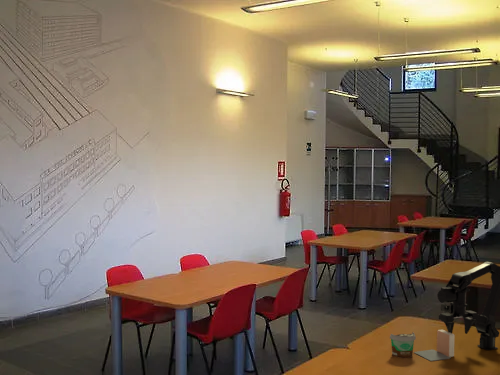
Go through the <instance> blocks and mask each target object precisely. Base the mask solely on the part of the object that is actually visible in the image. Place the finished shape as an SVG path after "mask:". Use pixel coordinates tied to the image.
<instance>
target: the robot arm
mask: <svg viewBox="0 0 500 375" xmlns="http://www.w3.org/2000/svg"><path fill="white" fill-rule="evenodd" d="M486 274H491V275H490V279H491V287H490V289H489V293H488V295H487V299H486V302H485V305H484V308H483V311H482V312H481V313H480V314H479V313H478V312H476V311H473V310H466V307H468V305H469V304H467V303H466V302H467V293H468V292H470V291H471V290H470V289H469V288H468V287H469V286H470V285H471V284H472V283H473V281H474V280H477V279H478V278H480V277H483V276H485V275H486ZM436 296H437V300H438V301H439V303H441V304H440V313H439V314H438V320H440V321H441V322H443V323H444V325H445V327H446V331H447V332H450V333H452V334H453V331H454V326H455V322H454V321H455V320H456V319H462V320H463V321H464V334H466V335H467V334H468V333H469V332H470V330H471V328H472V326H473V325H474V327H475V329H476V332H477V333H478V334H480V335H479V344H477V347H478V348H481V349H484V350H486V351H492V350H497V349H499V348H498V347H497V346H496V338H498V337H499V336H500V331H499V330H498V329H497V328H496V323H497V322H496V319H495V316H496V315H495V314H496V313H497V312H496V311H497V308H498V304H499V302H500V266H499V265H497V264H496V263H494V262H491V261H485V262H483V263H482V264H479V265H477V266H475V267H473V268H471V269H469V270H467V271H460V272H459V271H458V272H455V273H453V274H452V275H451V277H450V279H449V280H448V282H447V284H446V285H445V287H440V290H438V293H437V294H436ZM446 303H450V304H449V305H447V304H446ZM441 312H442V313H441Z"/></svg>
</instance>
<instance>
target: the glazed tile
mask: <svg viewBox="0 0 500 375" xmlns="http://www.w3.org/2000/svg"><path fill="white" fill-rule="evenodd" d="M436 333H437V334H436V351H437V352H440V353H442V354H444V355H446V356H448V357H450V358H451V357H454V356H455V334H454V333H453V332H452V333H450V332H448V330H444V329H438V330H437V331H436Z"/></svg>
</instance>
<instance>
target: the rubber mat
mask: <svg viewBox="0 0 500 375" xmlns="http://www.w3.org/2000/svg"><path fill="white" fill-rule="evenodd" d="M413 353H414V354H416V355H417V356H420V357H421V358H424V359H425V360H427V361H429V362H435V361H443V360H444V361H445V360H450V359H451V357H448V356H446V355H444V354H442V353H440V352H437V350H435V349H427V350H426V349H425V350H418V351H413Z"/></svg>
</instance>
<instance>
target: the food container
mask: <svg viewBox="0 0 500 375" xmlns="http://www.w3.org/2000/svg"><path fill="white" fill-rule="evenodd" d="M389 339H390V341H391V342H390V344H391V355H392V357H395V358H399V359H409V358H412V357H413V355H414V354H413V353H414V345H415V344H414V343H415V341H416V334H415V332H414V331H412V333H400V334H393V333H390V335H389Z"/></svg>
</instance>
